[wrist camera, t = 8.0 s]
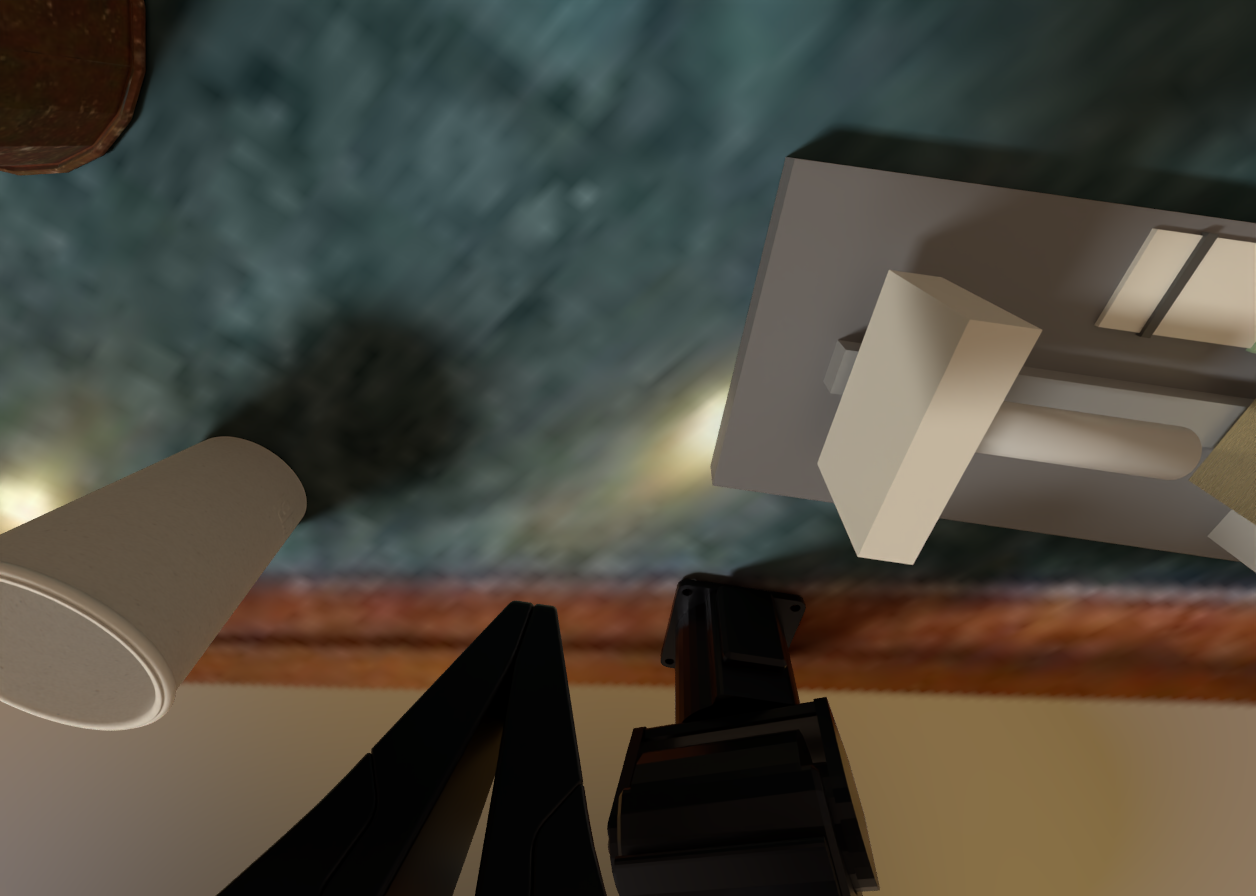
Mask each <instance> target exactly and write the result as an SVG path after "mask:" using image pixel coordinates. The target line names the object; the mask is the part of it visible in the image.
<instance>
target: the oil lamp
mask: <svg viewBox="0 0 1256 896" xmlns="http://www.w3.org/2000/svg"><path fill="white" fill-rule="evenodd" d="M145 72H146V8H145V4H144V0H0V171H3V172H8V173H12V174H16V175H35V174H51V173H67V172H70V171H72V170H74V169H76V168H78V167H80V166H82V165H84V164H86V163H88V162H90V161H92V160H94V159H96V158H99V157H101V156H103V155H104V154H105V153H106V152H107V151H108V149H109V148H110V147H111V146H112V144H113V143H114V142H115V140H116V139H117V138H118V137H119V135H120V134H121V133H122V132H123V130H124V129H125V128H126V127H127V125H128V124H129V123H130V121H131V120H132V117H133V113H134V110H135V106H136V103H137V100H138V96H139V93H140V89H141V86H142V82H143V79H144V76H145Z"/></svg>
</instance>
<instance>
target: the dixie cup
mask: <svg viewBox="0 0 1256 896" xmlns="http://www.w3.org/2000/svg"><path fill="white" fill-rule="evenodd" d="M306 507H307V499H306V494H305V490H304V488H303V486H302V484H301V482H300V480H299V478H298V477H297V475H296V474H295V473H294V471H293V470H292V469H291V468H290V467H289V466H288V465H287V464H286V463H285V462H284V461H283V460H282V459H281V458H279V457H278V456H277V455H275V454H274V453H272V452H271V451H269V450H268V449H266V448H264V447H262V446H260V445H258V444H256V443H254V442H251V441H248V440H245V439H241V438H236V437H228V436H220V437H213V438H210V439H207V440H205V441H203V442H200V443H198V444H196V445H194V446H192V447H190V448H187V449H185V450H183V451H181V452H179V453H176V454H174V455H172V456H170V457H168V458H166V459H163V460H161V461H159V462H157V463H155V464H153V465H150V466H148V467H146V468H144V469H142V470H140V471H137V472H135V473H133V474H131V475H129V476H127V477H124V478H122V479H120V480H118V481H116V482H114V483H111V484H109V485H107V486H105V487H103V488H101V489H98V490H96V491H94V492H92V493H90V494H87V495H85V496H83V497H81V498H79V499H77V500H74V501H72V502H70V503H68V504H66V505H64V506H61V507H59V508H57V509H55V510H53V511H51V512H48V513H46V514H44V515H42V516H40V517H38V518H35V519H33V520H31V521H29V522H27V523H25V524H22V525H20V526H18V527H16V528H14V529H12V530H9V531H7V532H5V533H3V534H1V535H0V701H1V702H4V703H6V704H8V705H11V706H13V707H15V708H17V709H20V710H22V711H25V712H27V713H30V714H33V715H35V716H38V717H41V718H45V719H48V720H51V721H55V722H58V723H62V724H66V725H70V726H76V727H81V728H87V729H95V730H126V729H132V728H136V727H141V726H145V725H148V724H150V723H153V722H155V721H157V720H158V719H160V718H161V717H163V716H164V715H165V714H166V713H167V712H168V711H169V709H170V708H171V707H172V705H173V702H174V700H175V696H176V690H177V689H178V687H179V686H180V685H181V683H182V682H183V681H184V679H185V678H186V676H187V675H188V674H189V672H190V671H191V670H192V668H193V667H194V665H195V664H196V663H197V661H198V660H199V659H200V657H201V656H202V655H203V653H204V652H205V650H206V649H207V648H208V646H209V645H210V644H211V642H212V641H213V640H214V638H215V637H216V635H217V634H218V633H219V631H220V630H221V629H222V627H223V626H224V625H225V623H226V622H227V620H228V619H229V618H230V616H231V615H232V614H233V612H234V611H235V609H236V608H237V607H238V605H239V604H240V603H241V601H242V600H243V599H244V597H245V596H246V594H247V593H248V592H249V590H250V589H251V588H252V586H253V585H254V584H255V582H256V581H257V579H258V578H259V577H260V575H261V574H262V573H263V571H264V570H265V568H266V567H267V566H268V564H269V563H270V562H271V560H272V559H273V558H274V556H275V555H276V553H277V552H278V551H279V549H280V548H281V547H282V545H283V544H284V543H285V541H286V540H287V538H288V537H289V536H290V534H291V533H292V532H293V530H294V529H295V527H296V526H297V525H298V523H299V522H300V521H301V519H302V518H303V516H304V514H305V512H306Z"/></svg>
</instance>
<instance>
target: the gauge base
mask: <svg viewBox="0 0 1256 896" xmlns="http://www.w3.org/2000/svg"><path fill="white" fill-rule="evenodd" d="M889 270H894V271H901V272H908V273H915V274H922V275H929V276H936V277H942V278H944V279H946V280H948V281H950V282H952V283H954V284H956V285H958V286H959V287H961V288H963V289H965V290H967V291H969V292H971V293H973V294H975V295H977V296H979V297H981V298H982V299H984V300H986V301H988V302H990V303H992V304H994V305H996V306H998V307H1000V308H1002V309H1004V310H1005V311H1007V312H1009V313H1011V314H1013V315H1015V316H1017V317H1019V318H1021V319H1023V320H1025V321H1026V322H1028V323H1030V324H1032V325H1034V326H1036V327H1038V328H1040V329H1042V332H1041V334H1040V336H1039V337H1038V339H1037V341H1036V343H1035V345H1034V346H1033V348H1032V350H1031V352H1030V354H1029V356H1028V357H1027V359H1026V361H1025V363H1024V365H1023V366H1022V368H1021V370H1020V372H1019V374H1018V375H1017V377H1016V379H1015V381H1014V383H1013V385H1012V386H1011V388H1010V390H1009V392H1008V394H1007V395H1006V397H1005V399H1004V401H1008V402H1015V403H1022V404H1029V405H1036V406H1043V407H1050V408H1057V409H1064V410H1071V411H1077V412H1084V413H1091V414H1098V415H1105V416H1112V417H1119V418H1126V419H1133V420H1140V421H1147V422H1154V423H1161V424H1168V425H1175V426H1182V427H1186V428H1188V429H1190V430H1192V431H1193V432H1194V433H1195V434H1196V435H1197V436H1198V438H1199V439H1200V442H1201V446H1202V454H1201V458H1200V461H1199V463H1198V464H1197V466H1196V467H1195V468H1194V469H1193V471H1191V472H1190V473H1189V474H1188V475H1186V476H1184V477H1182V478H1179V479H1175V480H1163V479H1156V478H1149V477H1143V476H1136V475H1129V474H1122V473H1115V472H1108V471H1101V470H1094V469H1087V468H1080V467H1073V466H1066V465H1059V464H1052V463H1045V462H1038V461H1032V460H1025V459H1018V458H1011V457H1004V456H997V455H990V454H983V453H976V452H975V453H974V455H973V457H972V459H971V461H970V462H969V464H968V466H967V468H966V470H965V471H964V473H963V475H962V477H961V479H960V481H959V482H958V484H957V486H956V488H955V490H954V491H953V493H952V495H951V497H950V499H949V500H948V502H947V504H946V506H945V508H944V509H943V511H942V513H941V515H940V517H939V518H941V519H948V520H955V521H962V522H969V523H976V524H983V525H990V526H996V527H1003V528H1010V529H1017V530H1024V531H1031V532H1038V533H1045V534H1052V535H1059V536H1066V537H1072V538H1079V539H1086V540H1093V541H1100V542H1107V543H1114V544H1121V545H1128V546H1135V547H1141V548H1148V549H1155V550H1162V551H1169V552H1176V553H1183V554H1190V555H1197V556H1204V557H1210V558H1217V559H1224V560H1231V561H1238V562H1242V563H1244V564H1245V565H1246V566H1248V567H1249V568H1250V569H1252V570H1253V571H1254V572H1256V525H1255V524H1253V523H1252V522H1250V521H1249V520H1247V519H1246V518H1244V517H1243V516H1241V515H1240V514H1238V513H1237V512H1235V511H1234V510H1232V509H1231V508H1229V507H1228V506H1226V505H1225V504H1223V503H1222V502H1220V501H1219V500H1217V499H1216V498H1214V497H1213V496H1211V495H1210V494H1208V493H1207V492H1205V491H1204V490H1202V489H1201V488H1199V487H1198V486H1196V485H1195V484H1193V483H1192V482H1190V481H1189V480H1188V479H1189V478H1190V477H1191V476H1192V475H1193V473H1194V472H1195V471H1196V470H1197V469H1198V467H1199V466H1200V465H1201V464H1202V463H1203V461H1204V460H1205V459H1206V458H1207V457H1208V455H1209V454H1210V453H1211V452H1212V451H1213V449H1214V448H1215V447H1216V446H1217V444H1218V443H1219V442H1220V441H1221V440H1222V438H1223V437H1224V436H1225V435H1226V434H1227V432H1228V431H1229V430H1230V429H1231V428H1232V426H1233V425H1234V424H1235V423H1236V422H1237V420H1238V419H1239V418H1240V417H1241V416H1242V414H1243V413H1244V412H1245V411H1246V410H1247V408H1248V407H1249V406H1250V405H1251V404H1252V402H1253V401H1254V400H1255V399H1256V223H1251V222H1244V221H1237V220H1230V219H1223V218H1216V217H1209V216H1202V215H1194V214H1187V213H1180V212H1173V211H1166V210H1159V209H1152V208H1145V207H1138V206H1131V205H1124V204H1116V203H1109V202H1102V201H1095V200H1088V199H1081V198H1074V197H1067V196H1060V195H1053V194H1046V193H1039V192H1031V191H1024V190H1017V189H1010V188H1003V187H996V186H989V185H982V184H975V183H968V182H961V181H954V180H946V179H939V178H932V177H925V176H918V175H911V174H904V173H897V172H890V171H883V170H876V169H868V168H861V167H854V166H847V165H840V164H833V163H826V162H819V161H812V160H805V159H798V158H791V157H786V158H785V162H784V167H783V171H782V175H781V179H780V183H779V187H778V191H777V195H776V199H775V204H774V208H773V212H772V216H771V220H770V224H769V228H768V232H767V236H766V241H765V245H764V249H763V253H762V257H761V261H760V265H759V269H758V273H757V277H756V282H755V286H754V290H753V294H752V298H751V302H750V306H749V310H748V314H747V319H746V323H745V327H744V331H743V335H742V339H741V343H740V347H739V351H738V356H737V360H736V364H735V368H734V372H733V376H732V380H731V384H730V388H729V393H728V397H727V401H726V405H725V409H724V413H723V417H722V421H721V425H720V429H719V434H718V438H717V442H716V446H715V450H714V454H713V458H712V462H711V474H712V484H713V485H714V486H720V487H727V488H734V489H741V490H748V491H755V492H762V493H769V494H776V495H783V496H789V497H796V498H803V499H810V500H817V501H824V502H831V503H834V501H833V499H832V497H831V494H830V492H829V490H828V487H827V485H826V483H825V481H824V478H823V476H822V474H821V471H820V469H819V467H818V464H817V463H818V460H819V457H820V455H821V452H822V449H823V446H824V444H825V441H826V438H827V436H828V433H829V430H830V428H831V425H832V422H833V419H834V417H835V414H836V411H837V409H838V406H839V403H840V401H841V398H842V395H843V392H844V390H845V387H846V384H847V382H848V379H849V376H850V374H851V371H852V368H853V365H854V363H855V360H856V357H857V355H858V352H859V349H860V347H861V344H862V341H863V338H864V336H865V333H866V330H867V328H868V325H869V322H870V320H871V317H872V314H873V311H874V309H875V306H876V303H877V301H878V298H879V295H880V293H881V290H882V287H883V284H884V282H885V279H886V276H887V274H888V271H889Z"/></svg>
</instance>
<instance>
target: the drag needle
mask: <svg viewBox="0 0 1256 896" xmlns="http://www.w3.org/2000/svg"><path fill="white" fill-rule="evenodd" d="M1188 480H1189V481H1190V482H1192V483H1193V484H1195V485H1196V486H1198V487H1199V488H1201V489H1202V490H1204V491H1205V492H1207V493H1208V494H1210V495H1211V496H1213V497H1214V498H1216V499H1217V500H1219V501H1220V502H1222V503H1223V504H1225V505H1226V506H1228V507H1229V508H1231V509H1232V510H1234V511H1235V512H1237V513H1238V514H1240V515H1241V516H1243V517H1244V518H1246V519H1247V520H1249V521H1250V522H1252V523H1253V524H1255V525H1256V399H1255V400H1254V401H1253V402H1252V404H1251V405H1250V406H1249V407H1248V408H1247V410H1246V411H1245V412H1244V413H1243V414H1242V416H1241V417H1240V418H1239V419H1238V420H1237V422H1236V423H1235V424H1234V425H1233V426H1232V428H1231V429H1230V430H1229V431H1228V432H1227V434H1226V435H1225V436H1224V437H1223V438H1222V440H1221V441H1220V442H1219V443H1218V444H1217V446H1216V447H1215V448H1214V449H1213V451H1212V452H1211V453H1210V454H1209V455H1208V457H1207V458H1206V459H1205V460H1204V461H1203V463H1202V464H1201V465H1200V466H1199V467H1198V469H1197V470H1196V471H1195V472H1194V473H1193V475H1192V476H1191V477H1190V478H1189V479H1188Z"/></svg>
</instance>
